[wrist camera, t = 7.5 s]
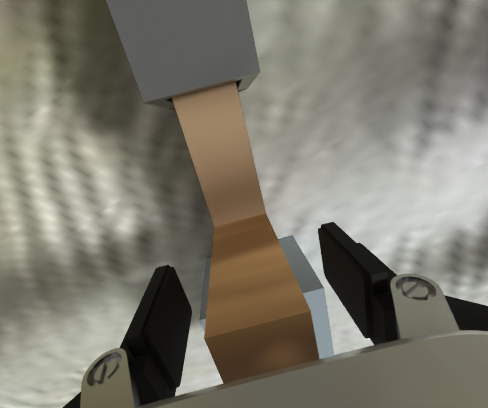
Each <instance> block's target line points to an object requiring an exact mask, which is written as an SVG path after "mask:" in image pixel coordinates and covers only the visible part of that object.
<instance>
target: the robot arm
mask: <svg viewBox="0 0 488 408" xmlns="http://www.w3.org/2000/svg"><path fill="white" fill-rule="evenodd" d="M318 234H319V241H320V248H321V255H322V262H323V269H324V274H325V277H326V279H327V281H328V282H329V284H330V285H331V287H332V288H333V290H334V291H335V293H336V294H337V296H338V297H339V299H340V301H341V302H342V304H343V305H344V307H345V308H346V310H347V311H348V313H349V314H350V316H351V317H352V319H353V320H354V322H355V324H356V325H357V327H358V328H359V330H360V331H361V333H362V334H363V336H364V337H365V338H370V339H371V341H372V342H373V344H374V346H369V347H365V348H361V349H357V350H353V351H349V352H345V353H341V354H337V355H333V356H330V357H326V358H322V359H318V360H314V361H310V362H306V363H302V364H298V365H294V366H290V367H286V368H282V369H278V370H274V371H271V372H267V373H263V374H259V375H255V376H251V377H247V378H244V379H240V380H236V381H232V382H228V383H224V384H220V385H217V386H213V387H209V388H205V389H202V390H198V391H194V392H190V393H186V394H183V395H179V396H175V392H176V388H177V387H179V386H180V383H181V377H182V371H183V365H184V359H185V353H186V347H187V340H188V334H189V328H190V322H191V316H192V310H191V306H190V304H189V301H188V299H187V297H186V294H185V292H184V290H183V287H182V285H181V283H180V280H179V278H178V276H177V273H176V271H175V269H174V267H170V266H169V265H166V266H162V267H158V268H156V269H155V272H154V274H153V276H152V278H151V280H150V283H149V285H148V287H147V289H146V291H145V293H144V296H143V298H142V300H141V302H140V304H139V307H138V309H137V311H136V313H135V315H134V317H133V320H132V322H131V324H130V326H129V328H128V331H127V333H126V335H125V337H124V339H123V341H122V344H121V346H120V348H116V349H112V350H110V351H108V352H106V353H104V354H103V355H101V356H100V357H99V358H97V359H96V360H95V361H94V362H93V363H92V364H91V366H90V367H89V368H88V369H87V371H86V373H85V375H84V377H83V380H82V386H81V392H80V393H79V394H78V395H77V396H75V397H74V398H73V399H72V400H71V401H70V402H69V403H67V404H66V405H65V406H64V407H63V408H488V306H485V305H481V304H477V303H473V302H469V301H465V300H461V299H457V298H453V297H449V296H445V295H444V294H443V292H442V290H441V288H440V287H439V285H438V284H436V283H435V282H434V281H432V280H430V279H428V278H426V277H424V276H420V275H416V274H401V275H396V274H395V273H394V272H393V271H392V270H391V269H389V268H388V267H387V266H386V265H385V264H384V263H383V262H382V261H380V260H379V259H378V258H377V257H376V256H375V255H374V254H373V253H371V252H370V251H369V250H368V249H367V248H366V247H365V246H363V245H362V244H361V243H356V242H355V241H354V240H353V239H351V238H350V237H349V236H348V235H347V234H346V233H345V232H344V231H343V230H342V229H341V228H339V227H338V226H337V225H336V224H335V223H334V222H330V223H326V224H322V225H321V228H319V229H318Z"/></svg>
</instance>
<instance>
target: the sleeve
mask: <svg viewBox="0 0 488 408" xmlns="http://www.w3.org/2000/svg"><path fill="white" fill-rule="evenodd" d="M106 2H107V5H108V7H109V10H110V13H111V16H112V18H113V21H114V24H115V26H116V29H117V32H118V34H119V37H120V40H121V43H122V45H123V48H124V51H125V53H126V56H127V59H128V61H129V64H130V67H131V69H132V72H133V75H134V78H135V80H136V83H137V86H138V88H139V91H140V94H141V96H142V99H143V102H144V103H147V104H152V105H156V106H160V107H165V108H169V109H171V108H175V106H174V103H173V100H172V98H173V97H177V96H181V95H184V94H188V93H192V92H196V91H199V90H203V89H207V88H211V87H215V86H218V85H222V84H226V83H230V82H233V81H235V82H236V86H237V90H238V91H239V90H243V89H247V88H248V87H249V86H250V85H251V83H252V82H253V81H254V79H255V78H256V77H257V75H258V74H259V73H260V69H259V64H258V58H257V53H256V48H255V43H254V38H253V33H252V27H251V22H250V17H249V12H248V7H247V2H246V0H106Z"/></svg>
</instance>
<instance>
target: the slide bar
mask: <svg viewBox="0 0 488 408" xmlns="http://www.w3.org/2000/svg"><path fill="white" fill-rule="evenodd" d="M172 100H173V103H174V106H175V109H176V112H177V115H178V118H179V121H180V124H181V127H182V130H183V133H184V137H185V140H186V143H187V146H188V149H189V152H190V155H191V158H192V161H193V164H194V167H195V170H196V173H197V176H198V179H199V182H200V185H201V188H202V191H203V194H204V197H205V201H206V204H207V207H208V210H209V213H210V216H211V219H212V222H213V225H214V234H213V245H212V257H211V268H210V279H209V291H208V302H207V313H206V325H205V336H204V339H205V341H206V344H207V346H208V348H209V351H210V353H211V355H212V358H213V360H214V362H215V365H216V367H217V369H218V371H219V374H220V376H221V378H222V381H223V383H228V382H232V381H236V380H240V379H244V378H247V377H251V376H255V375H259V374H263V373H267V372H271V371H274V370H278V369H282V368H286V367H290V366H294V365H298V364H302V363H306V362H310V361H314V360H318V359H320V358H319V353H318V347H317V342H316V337H315V331H314V326H313V320H312V315H311V310H310V308H309V306H308V304H307V302H306V299H305V297H304V295H303V293H302V291H301V289H300V286H299V284H298V282H297V280H296V278H295V275H294V273H293V271H292V269H291V267H290V265H289V262H288V260H287V258H286V256H285V254H284V252H283V249H282V247H281V245H280V243H279V241H278V239H277V236H276V234H275V232H274V230H273V228H272V226H271V223H270V221H269V219H268V217H267V215H266V212H265V207H264V203H263V199H262V194H261V190H260V186H259V181H258V177H257V173H256V168H255V164H254V160H253V155H252V151H251V147H250V142H249V138H248V134H247V129H246V125H245V121H244V116H243V112H242V108H241V103H240V99H239V95H238V90H237V86H236V82H235V81H233V82H230V83H226V84H222V85H218V86H215V87H211V88H207V89H203V90H199V91H196V92H192V93H188V94H184V95H181V96H177V97H173V98H172Z"/></svg>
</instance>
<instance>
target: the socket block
mask: <svg viewBox="0 0 488 408" xmlns="http://www.w3.org/2000/svg"><path fill="white" fill-rule="evenodd" d="M278 241H279V243H280V245H281V247H282V249H283V252H284V254H285V256H286V258H287V260H288V262H289V265H290V267H291V269H292V271H293V273H294V275H295V278H296V280H297V282H298V284H299V286H300V289H301V291H302V293H303V295H304V297H305V299H306V302H307V304H308V306H309V308H310V310H311V315H312V320H313V326H314V331H315V337H316V342H317V347H318V353H319V358H320V359H322V358H326V357H330V356H333V355H334V351H333V345H332V338H331V331H330V325H329V318H328V311H327V304H326V298H325V291H324V287H323V285H322V284H321V282H320V280H319V279H318V277H317V275H316V274H315V272H314V270H313V269H312V267H311V265H310V264H309V262H308V260H307V259H306V257H305V256H304V254H303V252H302V251H301V249H300V247H299V246H298V244H297V242H296V241H295V239H294V237H293V236H290V237H286V238H282V239H278ZM210 268H211V257H209V258H207V263H206V271H205V279H204V288H203V296H202V304H201V313H200V322H201V325H202V327H203V329H204V332H205V325H206V313H207V302H208V291H209V279H210Z"/></svg>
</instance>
